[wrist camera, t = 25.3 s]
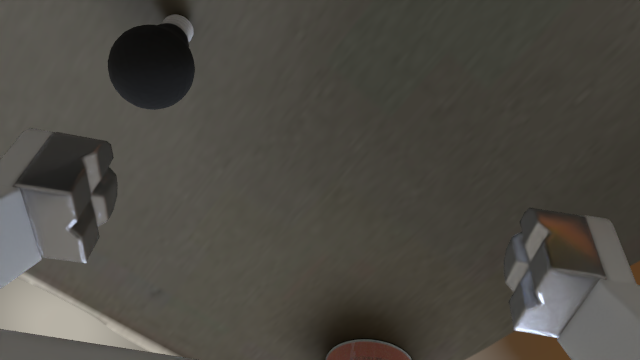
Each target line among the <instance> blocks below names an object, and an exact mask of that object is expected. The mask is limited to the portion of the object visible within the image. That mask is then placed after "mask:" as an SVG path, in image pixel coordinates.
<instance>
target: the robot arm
mask: <svg viewBox="0 0 640 360" xmlns="http://www.w3.org/2000/svg"><path fill="white" fill-rule="evenodd" d="M113 158H114V157H113V152H112V147H111V144H110V143H108V142H107V141H103V140H98V139H92V138H87V137H81V136H76V135H70V134H65V133H59V132H56V133H55V132H51V131H45V130H40V129H34V128H30V129H27V130H25V131H23V132H22V134H21V135H20V136H19V137H18V138H17V140H16V141H15V142H14V143H13V145H12V146H11V147H10V148H9V150H8V151H7V152H6V153H5V154H4V156H3V157H2V158H1V159H0V289H1V288H2V287H4V286H5V285H7V284H8V283H9V282H11V281H12V280H13V279H15V278H16V277H18V276H19V275H21V274H22V273H23V272H25V271H26V270H28V269H29V268H30V267H32V266H33V265H35V264H36V263H37V262H39V261H40V260H41V257H43V258H50V259H58V260H66V261H74V262H81V263H86V262H87V260H88V258H89V256H90V254H91V252H92V250H93V248H94V247H95V245H96V243H97V241H98V239H99V233H98V226H100V225H101V224H103V223H105V222H107V221H108V220H109V218H110V216H111V214H112V212H113V210H114V206H115V202H116V198H117V185H118V184H117V177H116V174H115V173H114V172H113V171H112V170H111V169H110V168H109V165H110V163H111V161H112V160H113ZM520 225H521V230H522V232H520V233H518V234H516V235H515V236H513V237H512V238H511V240H510V242H509V244H508V246H507V249H506V253H505V258H504V276H505V283H506V284H507V285H508V286H509V287H510V288H511V289H512V291H513V292H514V293H513V295H512V296H511V298H510V300H509V305H510V311H511V316H512V321H513V327H514V330H517V331H523V332H528V333H534V334H539V335H545V336H550V337H556V338H558V339H557V341H558V342H559V343H560V344H561V346H562V347H563V349H564V350H565V351H566V353H567V354H568V355H569V357H570V358H571V359H572V360H640V285H637V284H636V281H635V279H634V276H633V274H632V271H631V269H630V266H629V264H628V261H627V259H626V256H625V254H624V251H623V249H622V246H621V244H620V241H619V239H618V236H617V234H616V231H615V229H614V226H613V224H612V222H611V221H610V220H608V219H607V218H599V217H592V216H585V215H575V214H569V213H562V212H555V211H549V210H542V209H535V208H529V209H528V210H527V211H525V212H524V214H523V216H522V218H521V220H520ZM0 360H197V359H190V358H184V357H177V356H171V355H165V354H158V353H152V352H145V351H139V350H132V349H126V348H118V347H113V346H106V345H100V344H93V343H87V342H80V341H74V340H67V339H61V338H55V337H48V336H42V335H35V334H29V333H22V332H16V331H9V330H3V329H0Z"/></svg>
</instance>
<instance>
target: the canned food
mask: <svg viewBox="0 0 640 360" xmlns="http://www.w3.org/2000/svg"><path fill="white" fill-rule="evenodd" d="M326 360H412V359H411V357H410V356H409V355H408V354H407V353H406V352H405V351H404V350H402V349H401V348H399V347H397V346H395V345H393V344H390V343H387V342H384V341H379V340H372V339H357V340H351V341H347V342H344V343H341V344H339V345H337V346H335V347H334V348H333V349H331V350H330V351H329V353H328V354H327V357H326Z"/></svg>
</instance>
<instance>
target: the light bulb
mask: <svg viewBox="0 0 640 360" xmlns="http://www.w3.org/2000/svg"><path fill="white" fill-rule="evenodd" d="M192 36H193V27H192V25H191V23H190V22H189V21H188V20H187V19H186V18H185V17H183V16H180V15H170V16H168V17H166V18H165V19H164V21H163V22H162V23H161V24H160V25H142V26H137V27H134V28H131V29H129V30H128V31H126V32H124V33H123V34H122V35H121V36H120V37H119V38H118V39H117V40H116V41H115V43H114V45H113V46H112V48H111V51H110V55H109V59H108V71H109V76H110V79H111V82H112V84H113V86H114V87H115V89H116V90H117V92H118V93H119V94H120V95H121V96H122V97H123V98H124V99H125V100H127V101H128V102H130V103H132V104H133V105H135V106H138V107H141V108H145V109H154V110H155V109H161V108H166V107H169V106H172V105H174V104H175V103H177V102H178V101H179V100H181V99H182V98H183V97H184V96H185V95H186V93H187V92H188V90H189V89H190V87H191V85H192V82H193V78H194V72H195V67H194V60H193V57H192V54H191V51H190V49H189V48H188V47H189V42H190V40H191V39H192Z"/></svg>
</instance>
